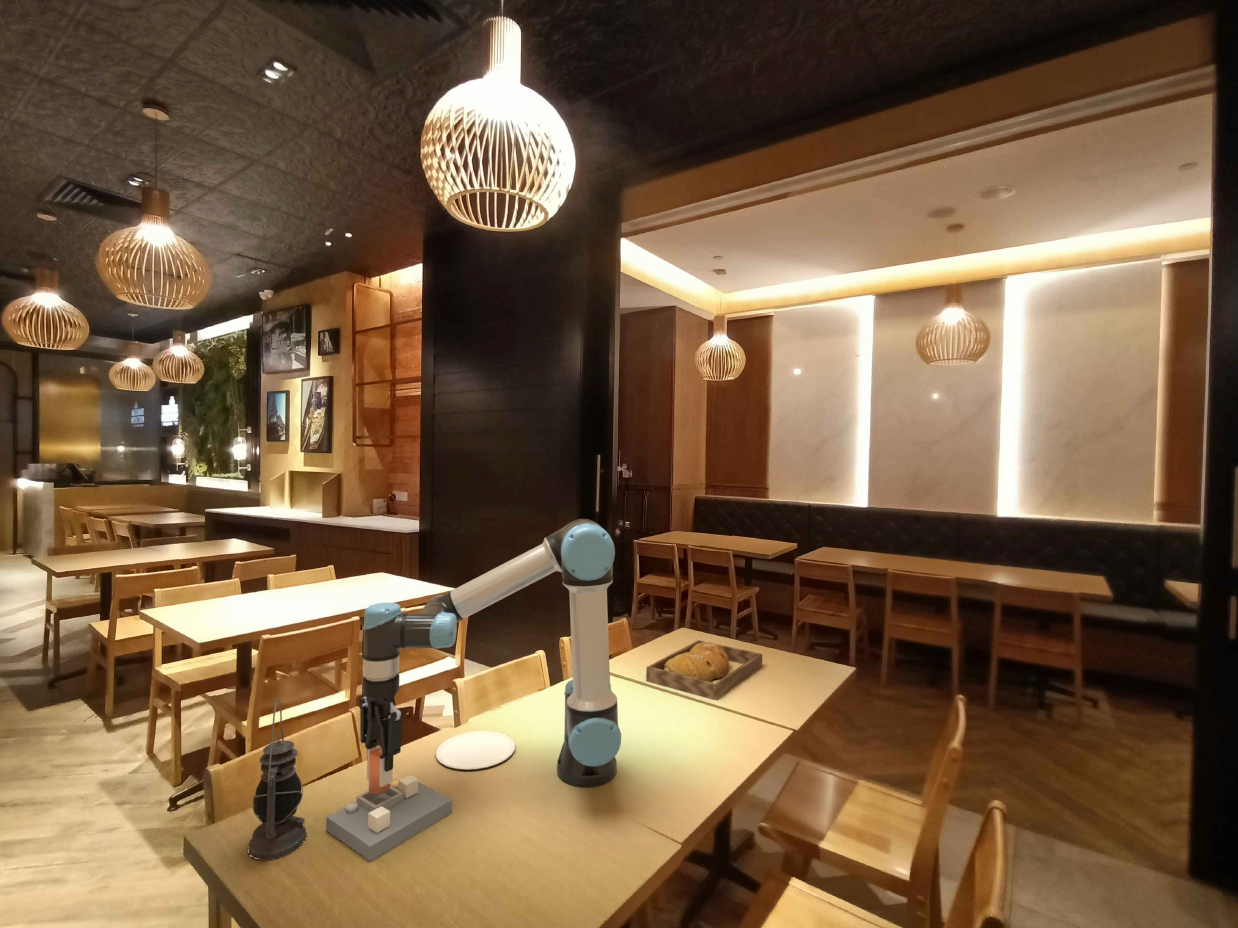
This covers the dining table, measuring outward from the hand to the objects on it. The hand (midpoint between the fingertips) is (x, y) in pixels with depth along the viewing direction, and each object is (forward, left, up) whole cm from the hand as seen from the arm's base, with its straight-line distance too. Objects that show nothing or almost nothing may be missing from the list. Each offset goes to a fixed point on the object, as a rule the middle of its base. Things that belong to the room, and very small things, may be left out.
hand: (379, 779), depth 133 cm
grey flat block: (-4, 0, -8) cm, 9 cm away
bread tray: (-18, -122, -8) cm, 124 cm away
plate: (+5, -32, -8) cm, 34 cm away
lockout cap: (0, 0, -2) cm, 2 cm away
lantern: (+8, +18, -8) cm, 21 cm away
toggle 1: (-8, +5, -5) cm, 11 cm away
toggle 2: (-2, -6, -5) cm, 8 cm away
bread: (-16, -123, -8) cm, 124 cm away
